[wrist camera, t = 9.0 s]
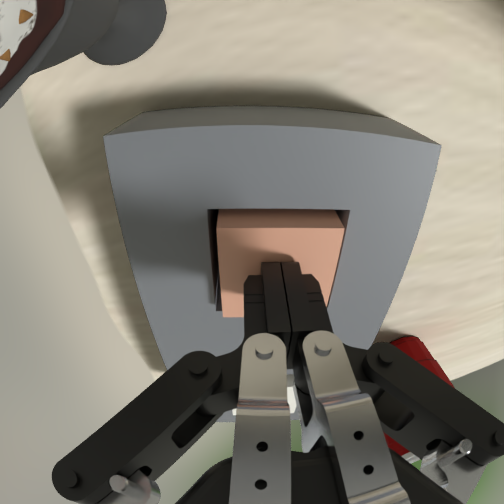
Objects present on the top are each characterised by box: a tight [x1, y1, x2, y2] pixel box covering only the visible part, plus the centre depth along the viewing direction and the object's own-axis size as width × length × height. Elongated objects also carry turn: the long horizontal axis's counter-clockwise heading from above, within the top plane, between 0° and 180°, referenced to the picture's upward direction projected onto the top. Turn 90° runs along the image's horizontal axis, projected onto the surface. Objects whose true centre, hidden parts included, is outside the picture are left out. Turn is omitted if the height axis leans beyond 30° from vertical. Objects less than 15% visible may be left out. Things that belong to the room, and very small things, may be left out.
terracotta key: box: [216, 209, 345, 317], centre depth 14 cm, size 5×5×4 cm
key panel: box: [103, 106, 441, 422], centre depth 18 cm, size 13×24×5 cm, turn 179°
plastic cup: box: [383, 336, 454, 464], centre depth 22 cm, size 11×11×12 cm
